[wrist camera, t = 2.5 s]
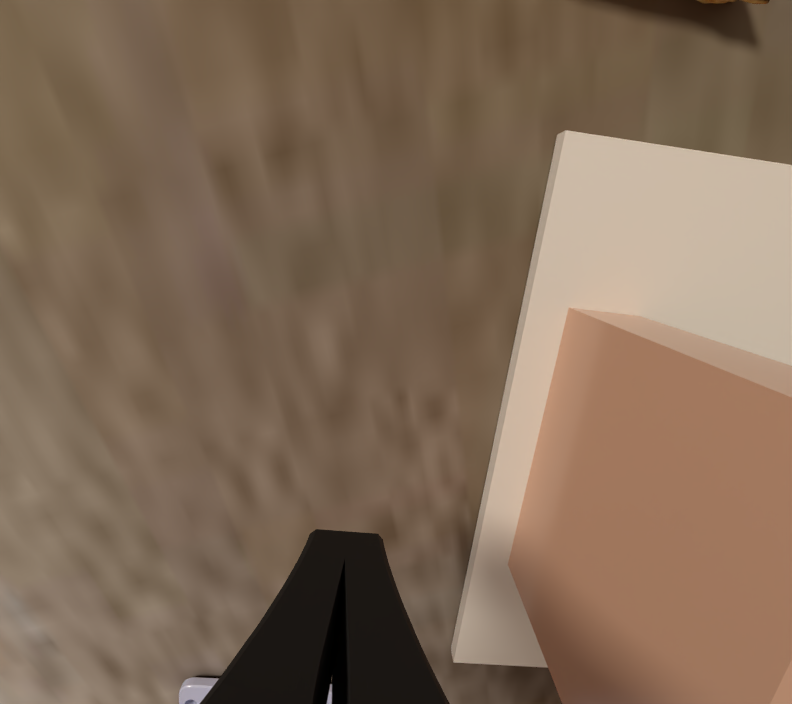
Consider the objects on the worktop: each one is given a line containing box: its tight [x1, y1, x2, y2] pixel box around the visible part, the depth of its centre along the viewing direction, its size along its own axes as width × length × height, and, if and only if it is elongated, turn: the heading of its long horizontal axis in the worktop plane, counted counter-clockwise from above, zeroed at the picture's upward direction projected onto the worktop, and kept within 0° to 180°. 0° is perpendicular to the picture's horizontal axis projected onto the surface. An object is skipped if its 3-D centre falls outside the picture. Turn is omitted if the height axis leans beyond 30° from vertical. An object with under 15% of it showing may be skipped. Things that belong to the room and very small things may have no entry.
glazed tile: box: [508, 307, 792, 704], centre depth 11 cm, size 10×3×9 cm, turn 173°
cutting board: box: [451, 130, 792, 668], centre depth 16 cm, size 20×16×1 cm
